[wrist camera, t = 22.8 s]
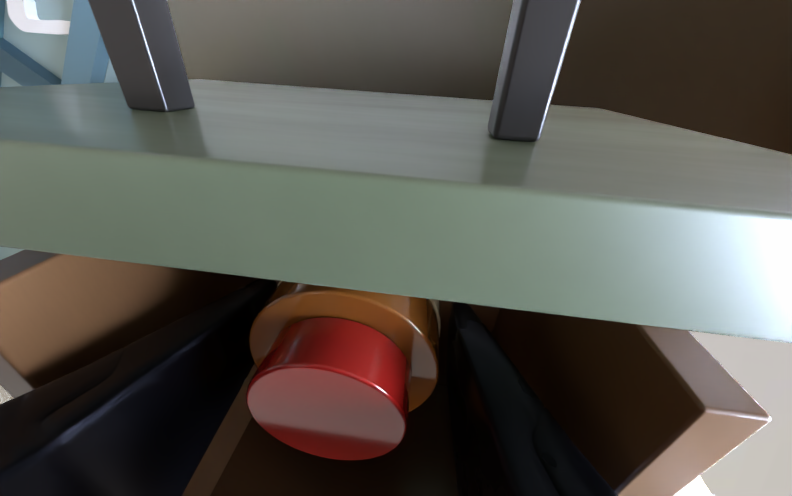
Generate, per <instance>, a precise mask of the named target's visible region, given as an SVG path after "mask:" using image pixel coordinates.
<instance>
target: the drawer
mask: <svg viewBox="0 0 792 496" xmlns="http://www.w3.org/2000/svg"><path fill="white" fill-rule="evenodd" d="M88 2H89V5H90V7H91V10H92V13H93V15H94V18H95V21H96V23H97V26H98V29H99V31H100V34H101V37H102V39H103V42H104V45H105V47H106V50H107V53H108V55H109V58H110V61H111V63H112V66H113V69H114V71H115V74H116V77H117V79H118V82H111V83H87V84H62V85H38V86H13V87H0V247H8V248H16V249H25V250H22V251H20V252H18V253H16V254H13V255H11V256H9V257H6V258H4V259H2V260H0V385H1V386H2V387H3V388H4V389H6V390H7V391H8V392H9V393H10V394H11V395H12V396H13V397H14V398H16V397H18V396H21V395H23V394H25V393H27V392H30V391H32V390H34V389H36V388H39V387H41V386H43V385H45V384H47V383H50V382H52V381H54V380H56V379H58V378H61V377H63V376H65V375H67V374H69V373H71V372H74V371H76V370H78V369H80V368H82V367H84V366H86V365H88V364H90V363H92V362H94V361H96V360H98V359H100V358H102V357H105V356H107V355H108V354H110V353H112V352H114V351H116V350H118V349H120V348H122V347H125V348H126V346H127V345H128V344H130V343H132V342H134V341H136V340H138V339H140V338H142V337H144V336H146V335H148V334H150V333H152V332H154V331H156V330H158V329H160V328H162V327H164V326H166V325H168V324H170V323H172V322H174V321H176V320H178V319H180V318H182V317H184V316H186V315H188V314H190V313H192V312H194V311H196V310H198V309H200V308H202V307H204V306H206V305H208V304H210V303H212V302H214V301H216V300H218V299H220V298H222V297H224V296H226V295H228V294H230V293H232V292H234V291H236V290H238V289H240V288H242V287H244V286H246V285H248V284H250V283H252V282H254V281H256V280H258V279H260V278H262V279H270V280H275V281H276V283H277V285H278V283H279V281H286V282H295V283H303V284H311V285H319V286H327V287H336V288H344V289H352V290H360V291H368V292H376V293H385V294H393V295H401V296H409V297H417V298H426V299H434V300H441V332H440V338H439V378H438V381H437V384H436V387H435V389H434V391H433V392H432V394H431V395H430V397H429V398H428V399H427V400H426V401H425V402H424V403H423V404H422V405H421V406H419V407H418V408H416V409H414V410H413V411H411V412H409V416H408V428H407V432H406V435H405V437H404V439H403V441H402V442H401V444H400V445H399V446H398V447H397V448H395V449H394V450H393V451H391V452H389V453H387V454H385V455H382V456H380V457H376V458H372V459H366V460H338V459H330V458H325V457H320V456H316V455H312V454H309V453H306V452H303V451H300V450H298V449H295V448H293V447H291V446H289V445H287V444H285V443H283V442H281V441H279V440H278V439H276V438H275V437H273V436H272V435H270V434H269V433H268V432H267V431H265V430H264V429H263V428H262V427H261V426H260V425H259V424H258V423H257V422H256V421H255V419H254V418H253V417H252V415H251V414H250V411H249V409H248V407H247V403H246V391H247V387H248V384H249V382H250V381H251V379H252V377H253V376H254V374H255V372H256V371H257V369H258V368H257V366H256V365H255V364H254V365H253V367H252V369H251V371H250V373H249V375H248V376H247V378H246V380H245V382H244V384H243V385H242V387H241V389H240V391H239V393H238V394H237V396H236V398H235V400H234V402H233V404H232V405H231V407H230V409H229V411H228V413H227V414H226V416H225V418H224V420H223V422H222V424H221V425H220V427H219V429H218V431H217V433H216V434H215V436H214V438H213V440H212V442H211V443H210V445H209V447H208V449H207V451H206V453H205V454H204V456H203V458H202V460H201V462H200V463H199V465H198V467H197V469H196V471H195V472H194V474H193V476H192V478H191V480H190V482H189V483H188V485H187V487H186V489H185V491H184V492H183V494H182V496H458V488H457V478H456V468H455V458H454V448H453V438H452V427H451V417H450V407H449V397H448V386H447V347H448V323H449V318H450V313H451V308H452V304H453V302H458V303H467V304H469V305H470V306H471V308H472V309H473V310H474V312H475V313H476V314H477V316H478V317H479V318H480V320H481V321H482V322H483V324H484V325H485V326H486V328H487V329H488V330H489V332H490V333H491V334H492V336H493V337H494V338H495V340H496V341H497V342H498V344H499V345H500V346H501V348H502V349H503V350H504V352H505V353H506V354H507V356H508V357H509V358H510V360H511V361H512V362H513V364H514V365H515V366H516V368H517V369H518V370H519V372H520V373H521V374H522V376H523V377H524V379H525V380H526V381H527V383H528V384H529V385H530V387H531V388H532V389H533V391H534V392H535V393H536V395H537V396H538V397H539V399H540V400H541V401H542V403H543V404H544V408H547V409H548V410H549V412H550V413H551V414H552V416H553V417H554V418H555V420H556V421H557V422H558V424H559V425H560V426H561V428H562V429H563V430H564V431H565V433H566V434H567V435H568V437H569V438H570V439H571V440H572V442H573V443H574V444H575V446H576V447H577V448H578V449H579V450H580V452H581V453H582V454H583V455H584V456H585V457H586V459H587V460H588V461H589V462H590V463H591V465H592V466H593V467H594V468H595V469H596V470H597V472H598V473H599V474H600V475H601V476H602V477H603V479H604V480H605V481H606V482H607V483H608V484H609V485H610V487H611V488H612V489H613V490H614V491H615V492H616V493H617V495H618V496H674V495H675V494H677V493H678V492H679V491H681V490H682V489H683V488H684V487H686V486H687V485H688V484H690V483H691V482H692V481H693V480H695V479H696V478H697V477H699V476H700V475H701V474H703V473H704V472H705V471H706V470H708V469H709V468H710V467H712V466H713V465H714V464H716V463H717V462H718V461H719V460H721V459H722V458H723V457H725V456H726V455H727V454H728V453H730V452H731V451H732V450H734V449H735V448H736V447H738V446H739V445H740V444H741V443H743V442H744V441H745V440H747V439H748V438H749V437H751V436H752V435H753V434H754V433H756V432H757V431H758V430H760V429H761V428H762V427H764V426H765V425H766V424H767V423H769V422H770V421H771V417H770V415H769V414H768V413H767V412H766V411H765V410H764V409H763V408H762V407H761V406H760V404H759V403H758V402H757V401H756V400H755V399H754V398H753V397H752V396H751V395H750V394H749V393H748V392H747V391H746V390H745V389H744V388H743V387H742V386H741V385H740V384H739V383H738V382H737V381H736V379H735V378H734V377H733V376H732V375H731V374H730V373H729V372H728V371H727V370H726V369H725V368H724V367H723V366H722V365H721V364H720V363H719V362H718V361H717V360H716V359H715V358H714V357H713V356H712V355H711V353H710V352H709V351H708V350H707V349H706V348H705V347H704V346H703V345H702V344H701V343H700V342H699V341H698V340H697V339H696V338H695V337H694V336H693V335H692V334H691V333H690V332H689V331H696V332H704V333H712V334H720V335H728V336H737V337H745V338H753V339H761V340H769V341H778V342H786V343H792V154H787V153H783V152H779V151H775V150H771V149H767V148H762V147H758V146H754V145H750V144H746V143H742V142H738V141H733V140H729V139H725V138H721V137H717V136H713V135H708V134H704V133H700V132H696V131H692V130H688V129H684V128H679V127H675V126H671V125H667V124H663V123H659V122H654V121H650V120H646V119H642V118H638V117H634V116H630V115H625V114H621V113H617V112H613V111H609V110H605V109H600V108H588V107H574V106H560V105H550V104H551V101H552V97H553V94H554V91H555V87H556V84H557V80H558V77H559V74H560V70H561V67H562V64H563V60H564V57H565V53H566V50H567V47H568V43H569V40H570V37H571V33H572V30H573V26H574V23H575V20H576V16H577V13H578V10H579V6H580V3H581V0H513V5H512V10H511V14H510V19H509V24H508V29H507V34H506V39H505V44H504V49H503V54H502V59H501V63H500V68H499V73H498V78H497V83H496V88H495V93H494V98H493V101H492V100H479V99H465V98H451V97H438V96H424V95H410V94H397V93H383V92H370V91H356V90H342V89H329V88H315V87H301V86H288V85H274V84H261V83H247V82H233V81H220V80H206V79H188V77H187V73H186V70H185V66H184V62H183V58H182V55H181V51H180V47H179V43H178V40H177V36H176V32H175V29H174V25H173V21H172V17H171V14H170V10H169V6H168V2H167V0H88Z"/></svg>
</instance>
